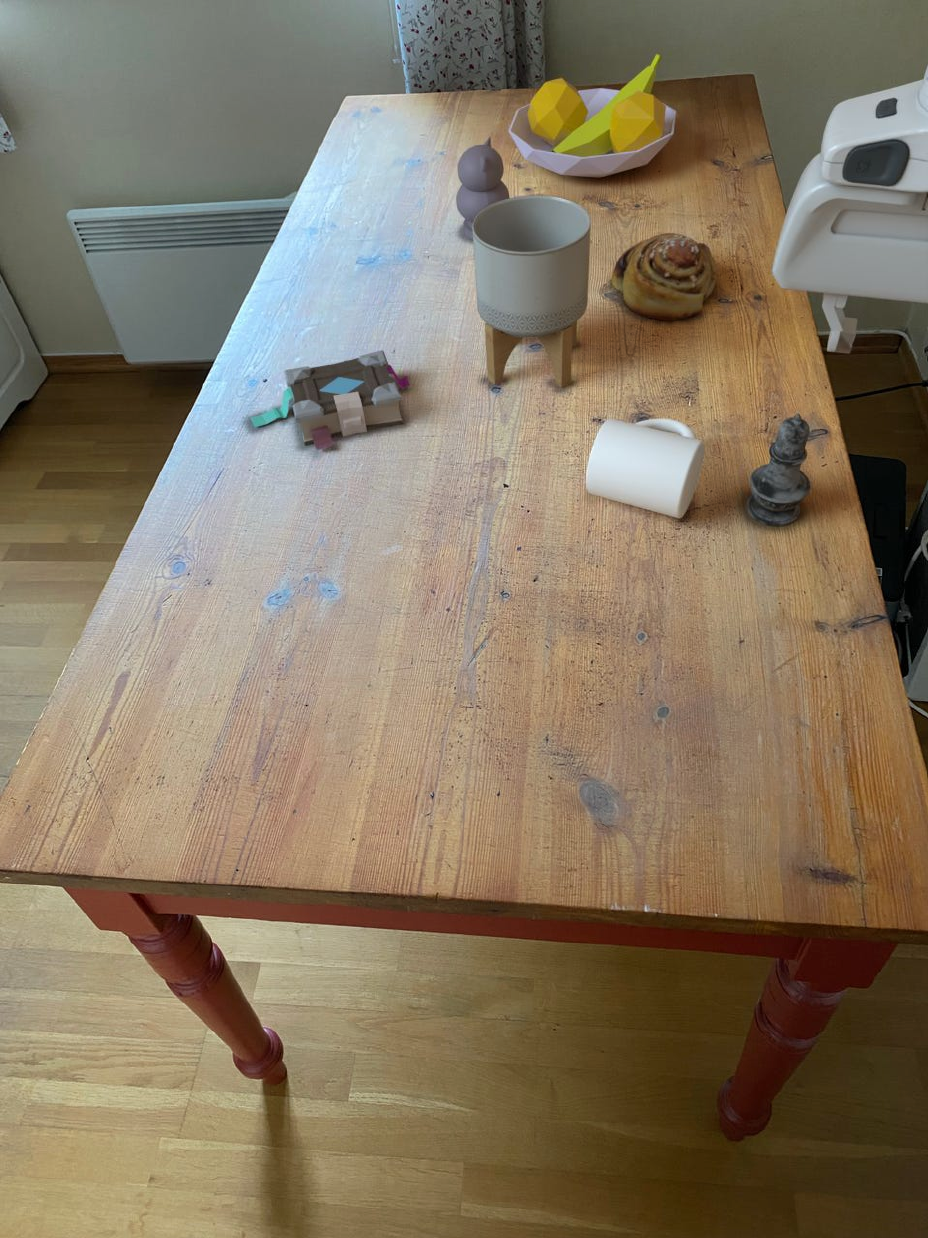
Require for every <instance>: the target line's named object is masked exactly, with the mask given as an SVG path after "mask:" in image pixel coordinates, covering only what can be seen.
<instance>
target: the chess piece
mask: <svg viewBox="0 0 928 1238" xmlns="http://www.w3.org/2000/svg"><path fill="white" fill-rule="evenodd" d="M810 430H811V429H810V425H809V423H808V422H807V421H806V420H805V419H803V418H802V416H801V414H800V413H796V414H794V415H793V416H792V417H787V418H785V419H784V420H783V421H781V423H780V424H779V426H778V430H777V433H776V438H775V442H774V443H772V444H771V445H770V446H769V449H768V454H769V457H770V458H769V462H768V463H766V464H763V465H760V466H759V467H756V468H755V469H754V470H753V471H752V472H751V474H750V476H749V485H750V489H751V490H750V491H751V493H752V495H751V496H750V497H749V498H748V500H747V502H746V511H747V513H748V515H749V516H750V517H751V518H752V519H753V520H754V521H756V522H757V523H760V524H762V525H764V526H769V527H785V526H788V525H791V524H792V523H794V522H796V521H797V519H798V518H799V516H800V514H801V507H800V505H799V504H800V503H801V502H802V501H803V500H804V498H806V497H807V496H808V494H809V493H810V490H811V481H810V479H809V476H807V474H806V473H805V472H804V471H802V470H801V467H802V463H804V462H805V461H806V460H807V458H808V451H807V449H806V446H807V443H808V439H809V436H810V433H811V432H810Z"/></svg>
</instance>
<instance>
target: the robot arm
mask: <svg viewBox="0 0 928 1238" xmlns="http://www.w3.org/2000/svg"><path fill="white" fill-rule="evenodd" d="M778 237H779V238H778V242H777V244H776V245H777V246H776V250H775V254H774V258H773V263H772V267H771V268H772V269H771V274H772V276H773V278H774V279H775V281H776V284H778V286H779V287H780V288H781V289H783V290H790V291H801V292H810V293H820V294H821V293H822V294H823V296H822V304H821V309H822V311H823V313H824V316H825V318H826V320H827V323H828V326H829V328H830V330H829V331H830V332H829V336H828V341H827V347H826V352H830V353H838V354H846V355H847V354H848V355H850V354H851V351H852V348H853V343H854V342H855V338H856V336H857V335H856V334H857V330H858V327H857V326H858V318H855V317H848V316H847V317H846V315H845V312H844V310H843V309H844V308H845V307H846V304H847V301H848V297H849V296H851V297H861V298H869V299H880V300H889V301H897V302H898V301H900V302H909V303H918V304H919V303H920V304H928V65H926V68H925V72H924V75H923V79H920V80H917V81H912V82H909V83H906V84H902V85H899V86H895V87H891V88H888V89H887V88H886V89H883V90H880V91H876V92H872V93H868V94H864V95H860V96H856V97H852V98H849V99H845V100H844V101H841V102H839V103H838V104H836V105H835V107H834V108H833V109H832V111H831V113H830V115H829V117H828V119H827V122H826V125H825V128H824V131H823V134H822V140H821V146H820V152H819V153H818V154H816V155H815V156H814V157H813V158H812V159H811V160H810V161H809V163H808V164H807V165H806V166H805V168H804V170H803V171H802V174H801V175H800V177H799V180H798V182H797V184H796V187H795V189H794V192H793V194H792V197H791V200H790V203H789V205H788V208H787V211H786V214H785V217H784V220H783V223H782V226H781V230H780V234H779V236H778Z"/></svg>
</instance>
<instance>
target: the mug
mask: <svg viewBox="0 0 928 1238" xmlns="http://www.w3.org/2000/svg"><path fill="white" fill-rule="evenodd" d="M705 452H706V444H705V442H704V440H702V439H698V436H697V434H696V432H695V431H694V430H693V429H692V428H690V427H689V426H688V425H687V424H685V423H684V422H681V421H679V420H676V419H673V418H664V417H663V418H651V419H645V420H641V421H637V422H635V423H632V422H628V421H624V420H619V419H615V418H608V419H607V420H605V421H604V422H603V424H602V425H601V426H600V429H599V430H598V432H597V434H596V437H595V439H594V441H593V443H592V447H591V450H590V454H589V457H588V462H587V466H586V474H585V488H586V491H587V492H588V494H590V495H593V496H596V497H600V498H603V499H607V500H611V501H615V502H617V503H622V504H624V505H628V506H633V507H637V508H640V509H643V510H647V511H651V512H653V513H658V514H662V515H665V516H668V517H673V518H676V519H681V518H683V517H684V516H685V514H686V513H687V512H688V511H687V510H688V509H689V507H690V505H691V502H692V499H693V497H694V495H695V492H696V489H697V485H698V483H699V480H700V476H701V472H702V469H703V465H704V460H705Z"/></svg>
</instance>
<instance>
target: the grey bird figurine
mask: <svg viewBox="0 0 928 1238" xmlns="http://www.w3.org/2000/svg"><path fill="white" fill-rule="evenodd" d="M504 170H505V168H504V161H503V158H502V156H501V155H500V154H499V152H498V151H497V150H496V149H495V148H494V147H492V141H491V136H489V137H488V138H487V140H486V141H485V142H484V143H483V144H475V145H473V146H471V147H469V148H467V149H466V150H464V152H463V153H462V154H461V156H460V158H459V160H458V162H457V176H458V177H457V178H458V180H459V182H460V183H461V185H460V186H459V188H458V190H457V192H456V195H455V196H456V197H455V204H456V209H457V211H458V212H459V214H460V216H461V217H462V218H463V223H462V224H463V235H464V236H465V237H466V238H467V239H468V240H471V241H473V230H472V226H473V222H474V219H475V218H476V216H477V215H478V214H479V213H480V212H481V211H482V210H484V209H485V208H486V207H488V206H490V205H492V204H494V203H497V202H499V201H502V200H505V199H509V198H511V197H510V191H509V189H508V187H507V185H506V184H505V183H504V182H503V181H502V178H503V176H504Z"/></svg>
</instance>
